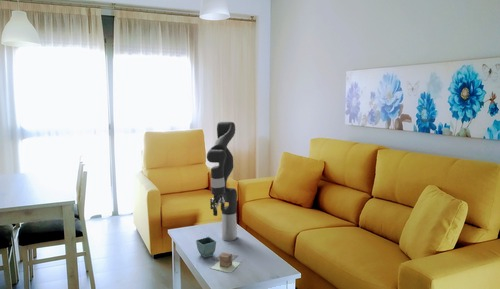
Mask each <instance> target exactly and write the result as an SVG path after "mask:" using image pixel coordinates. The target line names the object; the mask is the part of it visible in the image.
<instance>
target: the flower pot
mask: <svg viewBox="0 0 500 289" xmlns="http://www.w3.org/2000/svg"><path fill="white" fill-rule="evenodd" d="M195 244H196V248H197V251H198V253H199V254H200V256H202V257H203V258H205V259H206V258H208V257H212V256H213V255H214V253H215V251H216V249H217V248H216V245H217V241H216V240H215V239H213V238H211V237H210V236H206V237H203V238H200V239H196V240H195Z"/></svg>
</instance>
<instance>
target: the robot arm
mask: <svg viewBox="0 0 500 289" xmlns="http://www.w3.org/2000/svg"><path fill="white" fill-rule="evenodd" d="M235 134H236V125H235V123H234V122H232V121H219V122H217V124H216V136H217V139H216V140H215V143H214V145H213V146H212V147H210V148H209V149H208V151H207V154H206V159H207V161H208V162H209V163H216V164H217V163H218V165H215V166H212V167H211V168H210V188H211V189H210V190H211V192H210V193H211V194H212V195H213V197H211V198H210V199H209V200H210V201H209V202H210V205H209V206H210V210H213V211H212V212H213V214H212V215H213V216H214V217H217V216H218V207H219V206H220V211H221V237H222V240H224V241H225V242H226V241H227V242H229V241H230V242H231V241H235V240H237V237H238V229H237V228H238V226H237V225H238V224H237V207H238V204H237V203H238V193H237V192H238V191H237V190H236V188H233V187H227V181H228V179H229V177H230V175H231V173H232V172H233V170H234V156H233V154H232V152H231V151H230V150H229V148H228V145H229V143H230V142H231V140H232V139H233V137H234V136H235ZM226 203H228V205H227V206H225V205H226Z"/></svg>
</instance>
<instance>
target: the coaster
mask: <svg viewBox="0 0 500 289" xmlns="http://www.w3.org/2000/svg"><path fill="white" fill-rule="evenodd" d="M241 264H242V263H241V262H239V261H238V262H237V261H234V260H232V265H231V266H230V267H229V268H224V267H220V261H217V263H215V264H214V265H213V266H211V267H210V269H211V270H216V271H220V272H223V273H224V272H225V273H228V274H231V273H232V272H233V271H234V270H235V269H237V268H238V267H239V266H240V265H241Z"/></svg>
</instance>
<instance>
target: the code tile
mask: <svg viewBox="0 0 500 289" xmlns="http://www.w3.org/2000/svg"><path fill="white" fill-rule="evenodd" d="M223 253H224V252H222V253H220V254H219V255H217V256H216V257H215V258H214V259H213V260H215V261H217V262H219V261H220V259H219V256H220V255H221V254H223ZM231 254H232V261H234V260H235V259H236V258H237V257H238V255H237V254H233V253H231Z"/></svg>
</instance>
